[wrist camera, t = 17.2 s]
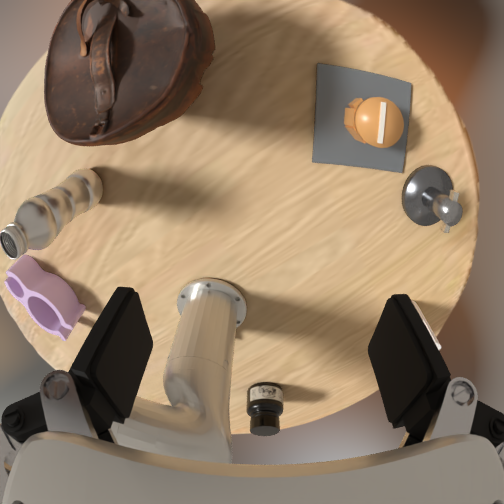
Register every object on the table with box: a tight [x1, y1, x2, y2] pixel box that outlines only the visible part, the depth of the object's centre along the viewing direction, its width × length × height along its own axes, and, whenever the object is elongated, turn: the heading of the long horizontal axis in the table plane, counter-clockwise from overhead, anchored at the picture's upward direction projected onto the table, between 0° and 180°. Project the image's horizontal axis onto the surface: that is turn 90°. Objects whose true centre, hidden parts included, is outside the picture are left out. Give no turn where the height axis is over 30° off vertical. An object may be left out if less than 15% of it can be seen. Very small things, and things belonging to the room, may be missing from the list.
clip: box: [4, 255, 86, 341], centre depth 47 cm, size 20×12×7 cm, turn 44°
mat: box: [312, 63, 411, 173], centre depth 32 cm, size 14×14×1 cm
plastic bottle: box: [0, 169, 103, 260], centre depth 29 cm, size 6×7×20 cm
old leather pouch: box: [44, 0, 215, 146], centre depth 21 cm, size 18×20×18 cm
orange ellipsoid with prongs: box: [344, 97, 404, 148], centre depth 29 cm, size 6×6×6 cm
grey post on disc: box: [402, 165, 462, 233], centre depth 34 cm, size 10×10×8 cm
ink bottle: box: [247, 383, 283, 436], centre depth 58 cm, size 10×9×12 cm
